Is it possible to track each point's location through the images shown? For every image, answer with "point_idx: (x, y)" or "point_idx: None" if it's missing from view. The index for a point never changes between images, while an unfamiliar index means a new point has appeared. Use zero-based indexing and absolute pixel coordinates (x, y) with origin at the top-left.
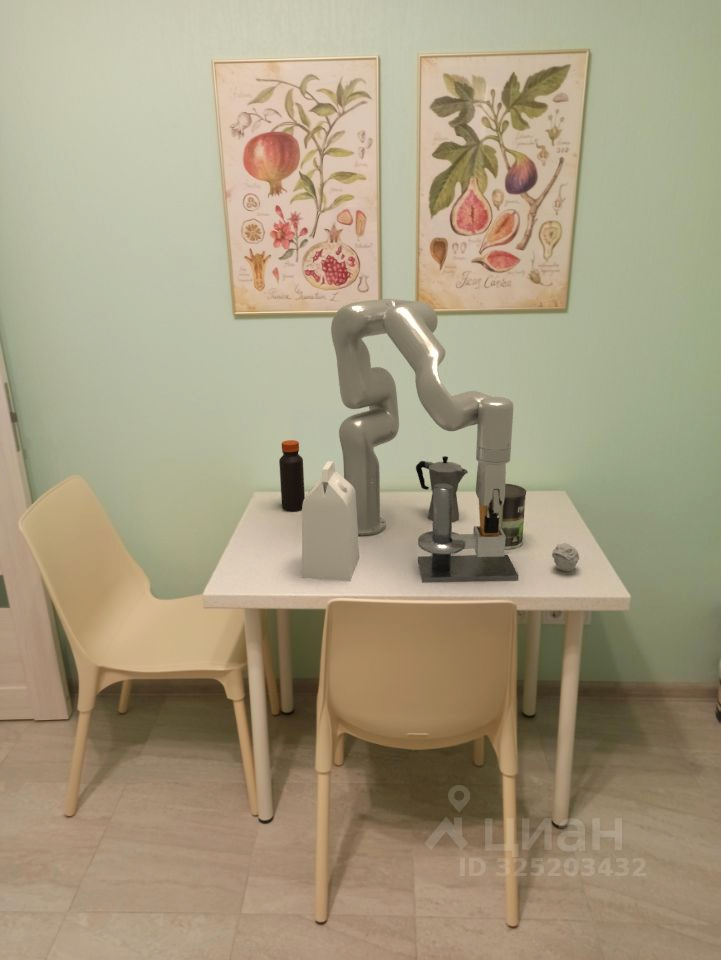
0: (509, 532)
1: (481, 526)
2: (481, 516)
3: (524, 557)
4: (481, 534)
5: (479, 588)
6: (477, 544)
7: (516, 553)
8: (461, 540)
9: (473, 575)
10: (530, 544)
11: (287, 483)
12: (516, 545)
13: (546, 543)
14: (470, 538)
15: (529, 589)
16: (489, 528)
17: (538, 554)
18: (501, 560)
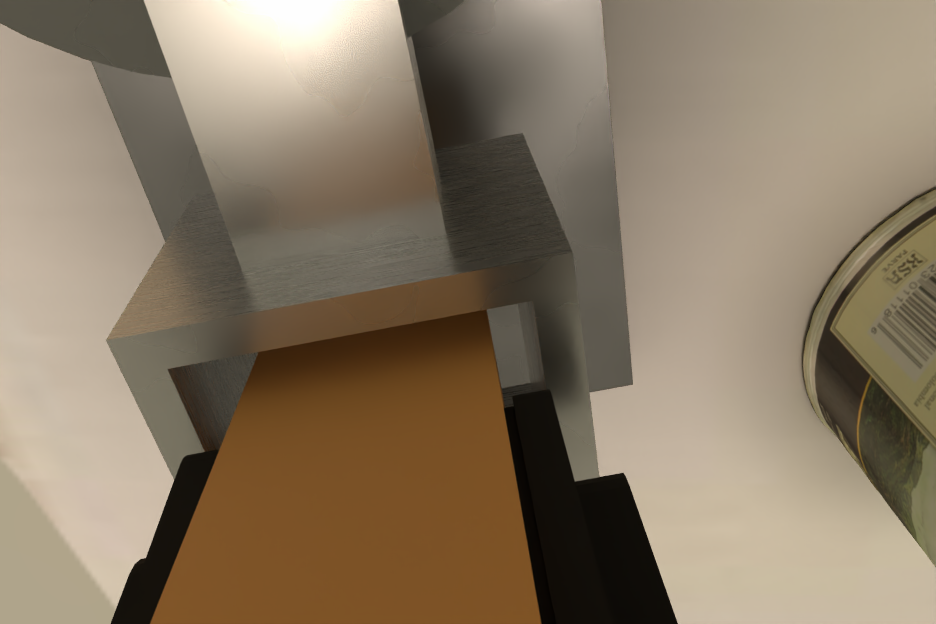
0: (884, 469)
1: (346, 431)
2: (246, 616)
3: (652, 465)
4: (402, 336)
5: (4, 146)
6: (196, 256)
7: (723, 418)
8: (157, 13)
9: (133, 100)
10: (869, 500)
11: None
12: (832, 431)
13: (870, 580)
14: (246, 174)
15: (140, 489)
16: (128, 591)
17: (700, 540)
18: (512, 340)
